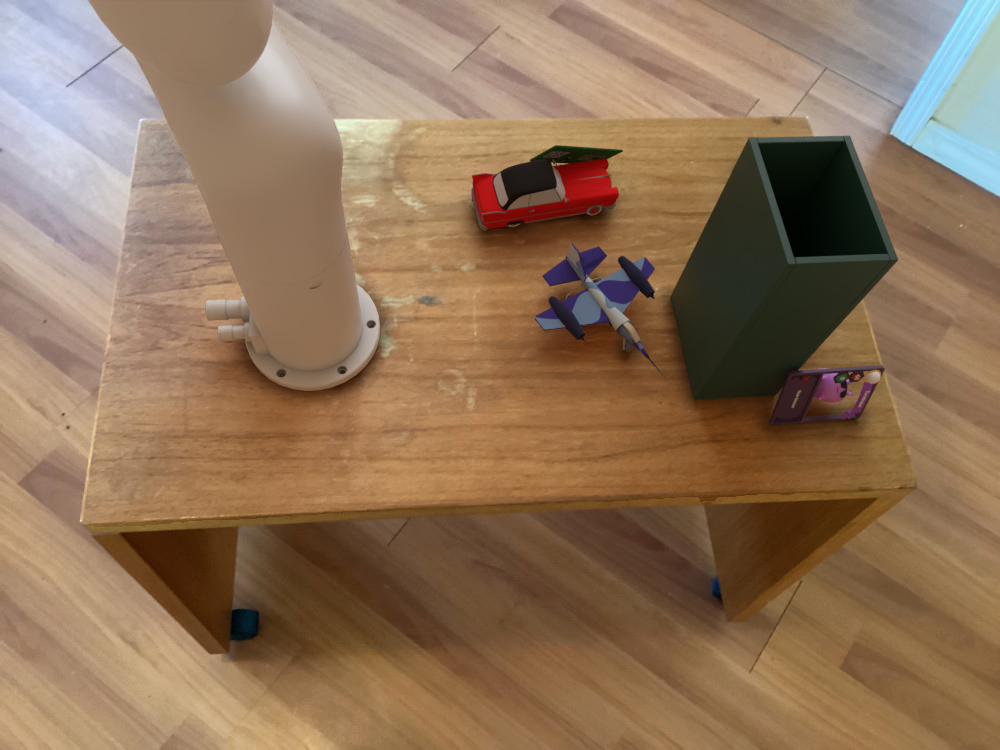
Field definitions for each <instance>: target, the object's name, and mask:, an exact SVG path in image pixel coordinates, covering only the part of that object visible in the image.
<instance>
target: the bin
mask: <svg viewBox="0 0 1000 750" xmlns="http://www.w3.org/2000/svg"><path fill="white" fill-rule="evenodd" d="M708 217H709V218H708V219H707V221H706V223H705V225H704V227H703V229H702V231H701V234H700V235H699V237H698V240H697V241H696V243H695V246H694V248H693V250H692V252H691V253H690V255H689V257H688V259H687V262H686V264H685V265H684V268H683V270H682V272H681V274H680V276H679V278H678V280H677V281H676V284H675V285H674V288H673V290H672V292H671V295H670V296H669V298H670V302H671V307H672V311H673V312H672V313H673V315H674V320H675V325H676V330H677V334H678V338H679V343H680V347H681V351H682V356H683V360H684V365H685V370H686V374H687V379H688V382H689V387H690V391H691V395H692V400H693V401H703V400H704V401H706V400H724V399H739V398H741V399H743V398H758V397H775V396H776V395H777V394H778V393H779V392H781V390H782V387H783V385H784V382H785V380H786V377H787V375H788V373H789V372H790V371H799V370H801V368H802V367H803V366H804V364H805V363H806V362H807V361H808V360H809V359H810V358H812V356H813V355H814V354H815V353H816V351H817V350H818V349H819V348H820V347H821V346H822V345H823V344H824V342H825V341H826V340H827V339H828V338H829V337H830V336H831V335H832V334H833V333H834V331H836V329H837V328H838V327H839V326H840V325H841V324H842V323H843V322H844V321H845V319H846V318H847V317H848V316H849V315H850V314H851V313H852V312H853V310H854V309H855V308H856V307H858V305H859V304H860V303H861V302H862V301H863V300H864V298H866V297H867V296H868V294H869V293H870V292H871V291H872V290H873V288H875V287H876V285H877V284H878V283H879V282H880V281H881V280H882V279H883V278H884V277H885V275H887V274H888V273H889V271H890V270H891V269H892V268H893V267H894V265H896V263H897V262H898V261H899V258H898V255H897V252H896V250H895V248H894V245H893V243H892V240H891V237H890V235H889V232H888V230H887V227H886V224H885V222H884V219H883V217H882V214H881V212H880V209H879V206H878V204H877V202H876V198H875V197H874V193H873V191H872V187H871V186H870V183H869V180H868V178H867V175H866V173H865V170H864V168H863V165H862V163H861V160H860V158H859V155H858V152H857V150H856V148H855V145H854V141H853V140H852V136H851V135H816V136H770V137H769V136H768V137H767V136H765V137H764V136H763V137H760V136H759V137H754V136H753V137H748V138H747V140H746V142H745V145H744V146H743V148H742V150H741V152H740V154H739V156H738V158H737V161H736V163H735V165H734V166H733V168H732V171H731V173H730V175H729V176H728V179H727V181H726V183H725V185H724V187H723V189H722V190H721V193H720V195H719V197H718V198H717V201H716V203H715V205H714V207H713V209H712V211H711V213H710V215H709V216H708Z"/></svg>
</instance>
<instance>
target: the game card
mask: <svg viewBox="0 0 1000 750" xmlns="http://www.w3.org/2000/svg"><path fill="white" fill-rule="evenodd" d="M885 370H886V368H885V366H884V365H883V364H880V365H879V364H877V365H863V366H849V367H833V368H825V367H821V368H816V369H802V370H801V369H799V370H798V371H790V372H789V373H788V375H787V377H786V380H785V382H784V385H783V387H782V388H781V390H780V391H779V392H780V393H779V395H778V397H777V400H776V402H775V405H774V407H773V410H772V412H771V415H770V417H769V419H768V422H769V423H770V426H778V425H793V424H807V423H808V424H809V423H821V422H835V421H836V422H837V421H848V420H849V421H850V420H859V419H860V418H861V417H862V415H863V413H864V410H865V409H866V407H867V405H868V404H869V401H870V400H871V397H872V396H873V393H874V392H875V389H876V388H877V386H878V384H879V382H880V380H881V378H882V376H883V374H884V372H885ZM865 372H866V373H865ZM850 373H851V374H850ZM862 379H863V381H864V382H863V384H862V387H861V390H860V394H859V396H858V398H857V400H856V402H855V404H854V406H853V408H852V409H851V410H847V411H845V412H844V413H843V414H831V415H830V414H829V415H816V416H807V413H808V410H809V408H810V407H811V404H812V402H813V400H814V399H816V400H818V401H823V402H825V403H842V402H841V401H843V402H847V400H846V399H845V398H846V396H850V397H851V396H854V395H855V393H854V392H851V391H849V385H850V384H853V383H859V382H860V381H861V380H862Z"/></svg>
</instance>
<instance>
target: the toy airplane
mask: <svg viewBox="0 0 1000 750" xmlns="http://www.w3.org/2000/svg"><path fill="white" fill-rule="evenodd" d="M607 257H608V255H607V253H606V252H605V251H604V250H603V249H602V248H601V247H600V245H598V246H596V247H592V248H589V249H587V250H583V251H579V249H578V248H577V246H575V244H574V243H573V242H570V243H569V246H568V251H567V255H566V256H565V258H564V259H563V260H561V261H560V262H558V263H557V264H556V265H555V266H553V267H552V268H551V269H549V270H547V272H545V273H544V274H542V278H543V279H544V280H545V282H546V283H547V285H548V286H549V287H554V286H559V285H562V284H564V285H565V284H568V283H575V282H577V281H580V282H581V283H580V284H579V285H577V286H576V287H575V288H574V289H572V290H571V291H569V293H567V294H564V295H563V297H562V298H563V300H562V301H561V300H560V299H559V298H558V297H557V296H555V295H551V296H550V297H549V298H548V300H547V301H548V303H549V305H550V308H549V307H548V309H546V310H544V311H542V312H540V313H538V314H536V315H535V316H534V320H535V322H536V323H537V324H538V326H539V327H540V328H541V329H542V330H543V331H544V332H546V331H553V330H561V329H562V330H563V329H565V330H566V331H567V332H569V334H570V335H571V336H573V338H575V340H576V341H583V342H585V343H586V339H585V336H586V334H587V333H586V332H585V331H584V329H583V327H585V326H593V325H602V324H608V325H609V326H611V327H612V328H613V329H614V331H615V333H616V334H617V335H619V336H620V337H621V338H622V339H623V343H622V350H623V351H625V352H627V353H630V352H631V351H632V346H633V347H634V348H635V349H636V350H637V351H639V353H641V354H642V355H643V356H644V357H645V358H646V359H647V360H648V361H649V362H650V363H651V364H652V366H654V367H655V369H656V370H657V371H658V372H659V373H660V375H662V377H663V378H664V379H666V377H665V376H664V375H663V373H662V372H661V370H660V369H659V368H658V366H657V365H656V364H655V363H654V362H653V360H652V359H651V357H650V356H649V353H648V351H647V349H645V347H644V345H643V343H642V341H641V338H640V336H639V334H638V332H637V331H636V329H635V328H634V325H633V324H632V322H631V320H630V319H629V318H628V317H627V316H626V315H625V314H624V313H625V311H626V310H627V309H628V307H629V306H630V304H631V303H632V302H633V301H634V299H635V298H636V296H637V295H638V293H639V292H640V293H641V294H642V295H643V296H644V297H645V298H646V299H650V298H651V299H653V300H655V299H656V298H655V295H654V294H655V293H656V290H654V287H653V286H652V285H651V283H650V282H649V278H650V277H651V275H652V274H653V273H654V271H655V270H656V268H655V266H654V265H653V264H652V263H651V262H650V261H649V259H647V257H641V258H639V259H636V261H634V262H633V261H631V260H630V259H629V258H627V257H626V256H624V255H620V256H619V257H618V258H617V263H618V264H619V266H620V268H621V269H619V270H616V271H615V272H612V273H611V274H609V275H608V276H606V277H604V278H602V276H599V277H596V278H590V277H589V276H590V275H591V274H592V273H593V272H594V271H595V270H596V269H597V267H599V266H600V265H601V263H602V262H603V261H604V260H605V259H607ZM582 286H584V288H585V289H583V290H581V291H580V292H577V293H576V294H574V295H572V294H573V293H574V292H576V291H577V290H578V289H580V288H581V287H582ZM570 295H571V296H570Z"/></svg>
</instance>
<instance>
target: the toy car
mask: <svg viewBox="0 0 1000 750" xmlns="http://www.w3.org/2000/svg"><path fill="white" fill-rule="evenodd" d="M555 162H557V161H555V160H554V159H553V163H551V162H550V161H549V160H548V159H542V160H535V161H531V162H530V161H527V162H526V161H525V162H521V163H518V164H514V165H511V166H508V167H505V168H504V169H502V170H500V171H499V172H498V173H487V172H484V173H483V172H482V173H476V174H472V175H471V178H472V187H471V193H470V194H471V195H470V196H471V202H472V203H473V207H474V208H473V209H474V212H475V215H476V223H477V224H478V227H479V228H480V229H481V230H482V231H484V232H485V231H487V230H490V229H496V228H502V227H503V228H504V227H509V228H514V227H515V228H516V227H518V226H520V225H521V224H530V223H536V222H543V221H549V220H554V219H559V218H561V219H562V218H566V217H572V216H573V217H574V216H577V215H579V216H580V215H584V214H586V215H587V216H597V214H600V213H601V212H602V210H603V211H605V212H607V211H610V210H613V209H614V208H615V207H616V206H617V200H618V199H619V196H620V191H619V189H618V187H616V186H614V187H613V183H612V182H613V181H612V179H611V176H612V174H609V172H608V171H607V170H608V169H609V166H610V165H609V164H610V163H609V159H607V158H604V159H597V160H591V161H584V162H577V163H570V164H566V163H562V164H558V163H555Z"/></svg>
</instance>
